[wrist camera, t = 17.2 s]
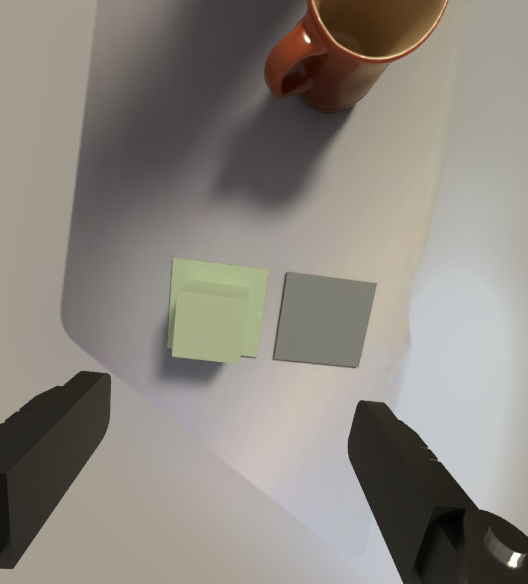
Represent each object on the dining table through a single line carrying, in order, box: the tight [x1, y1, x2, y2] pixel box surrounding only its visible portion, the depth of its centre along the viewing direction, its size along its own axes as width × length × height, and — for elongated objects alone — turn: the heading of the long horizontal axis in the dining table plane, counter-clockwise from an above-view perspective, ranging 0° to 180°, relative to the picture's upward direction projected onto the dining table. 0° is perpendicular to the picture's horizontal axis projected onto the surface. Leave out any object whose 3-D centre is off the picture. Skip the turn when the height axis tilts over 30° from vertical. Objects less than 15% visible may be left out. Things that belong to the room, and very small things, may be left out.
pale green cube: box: [172, 279, 249, 364], centre depth 27 cm, size 6×6×6 cm
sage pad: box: [167, 258, 269, 357], centre depth 30 cm, size 10×10×1 cm
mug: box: [264, 0, 448, 113], centre depth 21 cm, size 12×9×10 cm
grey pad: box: [274, 272, 377, 367], centre depth 31 cm, size 10×10×1 cm
